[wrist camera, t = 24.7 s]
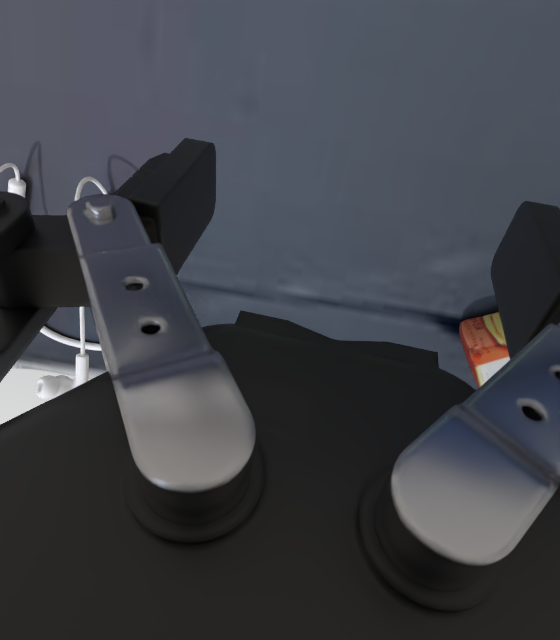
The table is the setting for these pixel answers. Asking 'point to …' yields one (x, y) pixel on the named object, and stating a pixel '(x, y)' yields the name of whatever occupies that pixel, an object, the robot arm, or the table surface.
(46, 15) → the table surface
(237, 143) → the table surface
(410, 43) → the table surface
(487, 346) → the snack package
